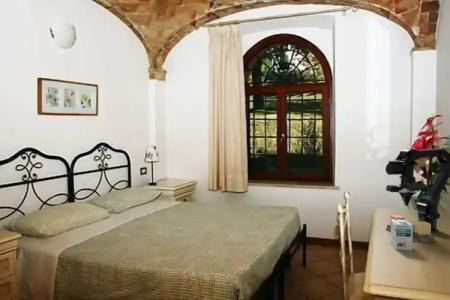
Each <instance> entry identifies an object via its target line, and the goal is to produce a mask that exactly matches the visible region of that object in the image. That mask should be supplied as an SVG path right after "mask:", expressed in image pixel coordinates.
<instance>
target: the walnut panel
mask: <svg viewBox="0 0 450 300" xmlns="http://www.w3.org/2000/svg"><path fill="white" fill-rule="evenodd" d="M385 230H386V231H387V232H389V233H391V225H390V224H386V228H385ZM421 242H423V243H424V242H427V243H429V242H435V235H434V234H432V233H431V235H420V234H418V233H416V232H414V231H413V238H412V243H421Z"/></svg>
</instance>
